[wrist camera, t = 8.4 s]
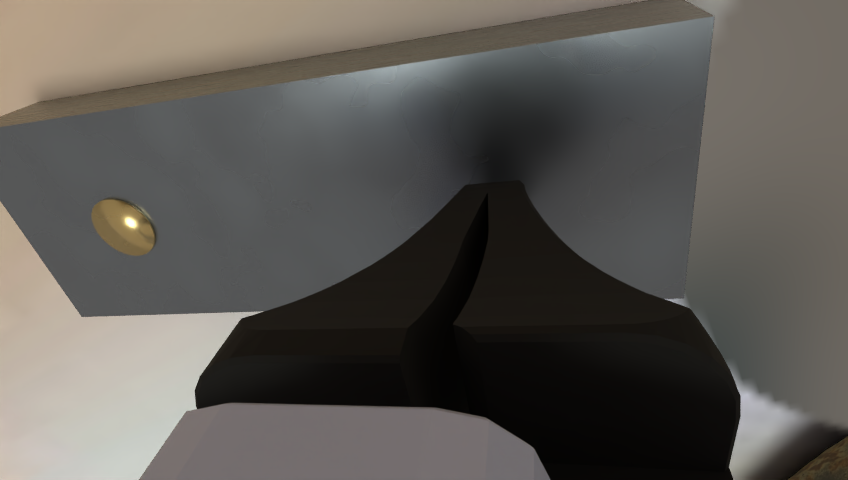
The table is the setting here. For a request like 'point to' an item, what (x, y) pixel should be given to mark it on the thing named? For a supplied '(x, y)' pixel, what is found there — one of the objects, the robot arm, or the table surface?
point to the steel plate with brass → (366, 160)
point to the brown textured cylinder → (827, 464)
